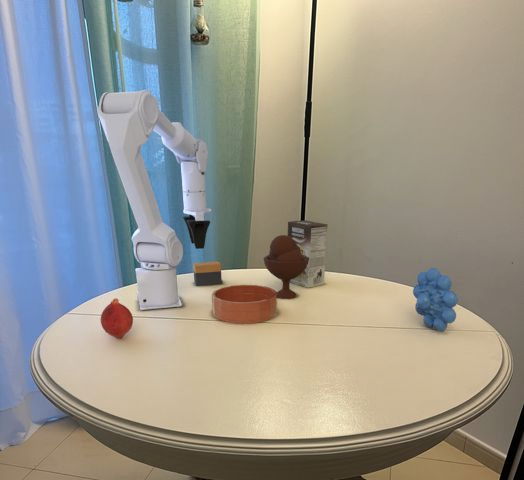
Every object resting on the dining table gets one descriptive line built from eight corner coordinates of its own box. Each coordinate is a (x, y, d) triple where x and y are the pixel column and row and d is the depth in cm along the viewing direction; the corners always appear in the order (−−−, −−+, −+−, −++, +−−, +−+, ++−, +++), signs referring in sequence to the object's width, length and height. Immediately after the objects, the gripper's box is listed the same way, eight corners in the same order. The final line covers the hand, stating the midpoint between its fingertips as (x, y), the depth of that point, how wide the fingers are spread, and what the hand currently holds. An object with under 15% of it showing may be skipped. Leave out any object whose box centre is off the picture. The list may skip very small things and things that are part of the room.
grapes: (394, 321, 96) (401, 265, 91) (419, 317, 98) (427, 262, 93) (433, 340, 86) (443, 278, 81) (460, 335, 88) (471, 274, 84)
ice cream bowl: (309, 301, 108) (312, 238, 103) (263, 301, 109) (262, 238, 103) (306, 289, 118) (308, 231, 112) (263, 289, 118) (263, 231, 112)
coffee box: (285, 281, 126) (286, 221, 120) (303, 277, 130) (304, 219, 123) (307, 288, 119) (309, 225, 113) (325, 284, 123) (328, 223, 117)
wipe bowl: (219, 326, 93) (218, 305, 92) (208, 306, 106) (207, 287, 104) (285, 319, 97) (285, 299, 95) (266, 300, 109) (266, 282, 108)
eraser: (196, 286, 122) (194, 265, 120) (194, 282, 125) (193, 263, 123) (221, 284, 124) (221, 264, 121) (219, 280, 127) (218, 261, 125)
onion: (117, 346, 84) (111, 305, 81) (97, 340, 87) (90, 300, 84) (141, 336, 88) (136, 297, 85) (121, 330, 91) (115, 292, 88)
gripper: (215, 193, 109) (217, 249, 114) (205, 189, 122) (207, 240, 127) (185, 193, 107) (189, 251, 112) (178, 189, 120) (182, 241, 125)
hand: (197, 245), depth 120 cm, fingers open, 7 cm apart
